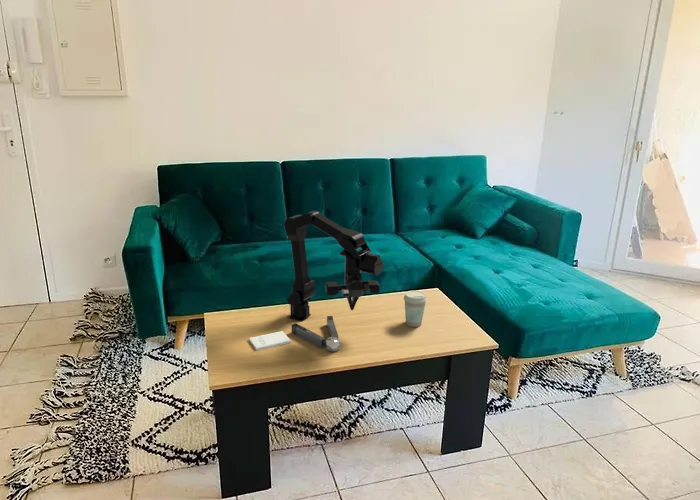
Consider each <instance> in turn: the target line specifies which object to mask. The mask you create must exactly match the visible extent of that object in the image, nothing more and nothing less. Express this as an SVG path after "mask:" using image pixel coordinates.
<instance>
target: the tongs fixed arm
mask: <svg viewBox="0 0 700 500" xmlns="http://www.w3.org/2000/svg"><path fill="white" fill-rule="evenodd" d="M291 333H292V334H294V335H295V336H297V337H299V338H301V339H303V340H304V341H306V342H308V343H310V344H312V345H314V346H315V347H317V348H320V349H324V348H326V338H325V337H323V336H322V335H320V334H318V333H315V332H313V331H311V330H310V329H308V328H306V327H304V326H302V325H300V324H298V323H293V324H291Z"/></svg>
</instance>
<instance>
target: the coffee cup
mask: <svg viewBox="0 0 700 500" xmlns="http://www.w3.org/2000/svg"><path fill="white" fill-rule="evenodd" d="M403 301H404V311H405V315H404V316H405V317H404V318H405V324H406V326H408V327H411V328H418V327H420V326H421V325H422V323H423V322H422V321H423V318H424V313H425V312H424V311H425V307H426V302H427V301H428V299H427V296H426V294H425V292H423V291H420V290H409V291H406V293H405V294H404V297H403Z"/></svg>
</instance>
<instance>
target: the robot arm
mask: <svg viewBox="0 0 700 500" xmlns="http://www.w3.org/2000/svg"><path fill="white" fill-rule="evenodd" d="M283 225H284V226H283V227H284V230H285V234H286V236H287V238H288V239H289V241H290V242H291V251H292V260H293V270H294V276H295V277H294V280H293V284H292V288H291V294H290V295H289V296H287V298H286V302H287V304H288V305H290V306H289V307H290V309H289V310H290V311H289V312H290V313H289V315H288V319H293V320H297V321H300V322H303V321H306V319H308V318H309V317H310V316H311V314H312V313H310V305H309V301H310V300H312V297H313V296H314V295H315V292H316V291H317V288H316V286H315V284H316V281H315V280H314V279H313V280H312V279H311V278H310V276H309V272H308V271H309V270H308V262H307V261H308V260H307V252H306V241H305V240H306V239H305V238H306V236H307V232H308V226H309V225H312V226H313V227H314V228H317V229H319V230H320V231H321V232H323V233H325V234H327V235H328V236H330V237H332V238H333V239H335V241H337V243H338V245H339V246H340V247H341V248H342V249H343V250H342V251H341V252H340V253H339V255H341V256H343V257H344V284H338V283H337V281H327V282H326V283H325V285H324V289H325V293H326V295H327V296H337V295H338V294H339V292H341V295H342V296H343V297H346V299H347V302H348V306H349V309H350V311H354V309H355V306H356V305H357V302H358V300H359V298H361V297H363V296H364V295H365V294H364V293H367V292H370V293H371V294H380V293H381V286H380V284H379V282H378V281H377V280H375V279H373V280H371V279H370V280H363V278H362V272H363V273H367V274H370V275H374V276H379V275H380V274H381V273H382V271H383V266H384V263H383V260H382V258H381V255H380V254H374V253H372V250H371V248H370V247H369V245H368V243H367V242H366V240H365V236H364V234H363V233H362V232H360V231H356V230H354V229H349V228H345V227H343V226H342V225H339V224H338V223H336V222H334V221H333V220H331V219H329V218H328V217H326V216H324V215H323V214H321V213H320V212H319V211H317V210H311V211H310V212H307V213H306V214H296V215H293V216H291V217H287V218H286V219H285V220H284V222H283ZM359 249H360V250H359ZM358 250H359V251H358Z"/></svg>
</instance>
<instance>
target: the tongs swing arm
mask: <svg viewBox="0 0 700 500" xmlns="http://www.w3.org/2000/svg"><path fill="white" fill-rule="evenodd" d="M326 325H327V328H328V331H329V333H330V336H329V337H327V338H325V350H326V351H328V352H337V351H338V350H340V338H339V334H338V331H337V328H336V324H335V321H334V316H333V315H327V316H326Z"/></svg>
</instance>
